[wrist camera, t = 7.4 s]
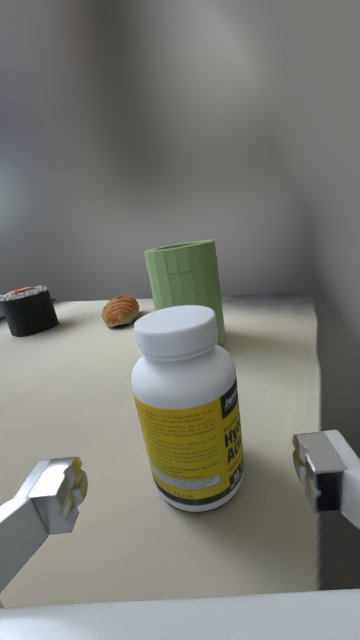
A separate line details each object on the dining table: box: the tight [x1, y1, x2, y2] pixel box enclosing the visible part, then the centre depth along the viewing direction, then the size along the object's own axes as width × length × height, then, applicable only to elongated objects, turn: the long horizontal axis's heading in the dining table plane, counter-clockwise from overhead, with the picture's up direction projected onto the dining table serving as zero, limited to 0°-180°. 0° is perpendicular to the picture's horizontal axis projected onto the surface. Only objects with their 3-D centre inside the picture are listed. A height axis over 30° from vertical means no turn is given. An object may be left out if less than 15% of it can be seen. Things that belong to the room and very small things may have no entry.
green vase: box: [144, 240, 225, 346], centre depth 32 cm, size 8×8×12 cm
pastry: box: [102, 295, 139, 328], centre depth 47 cm, size 9×7×4 cm
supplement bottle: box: [131, 305, 244, 512], centre depth 14 cm, size 5×5×10 cm
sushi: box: [0, 285, 59, 336], centre depth 50 cm, size 8×8×8 cm
